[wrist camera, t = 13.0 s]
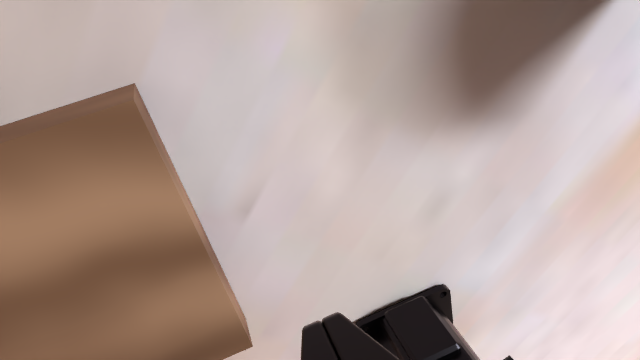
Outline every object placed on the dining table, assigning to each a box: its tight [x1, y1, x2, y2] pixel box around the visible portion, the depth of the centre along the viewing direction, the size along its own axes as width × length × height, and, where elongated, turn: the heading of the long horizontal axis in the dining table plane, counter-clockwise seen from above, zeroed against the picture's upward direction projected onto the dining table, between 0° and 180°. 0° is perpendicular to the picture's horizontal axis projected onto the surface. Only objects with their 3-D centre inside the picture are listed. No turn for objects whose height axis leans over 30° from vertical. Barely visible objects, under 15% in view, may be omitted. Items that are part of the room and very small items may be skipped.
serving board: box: [0, 83, 253, 360], centre depth 19 cm, size 14×12×2 cm
